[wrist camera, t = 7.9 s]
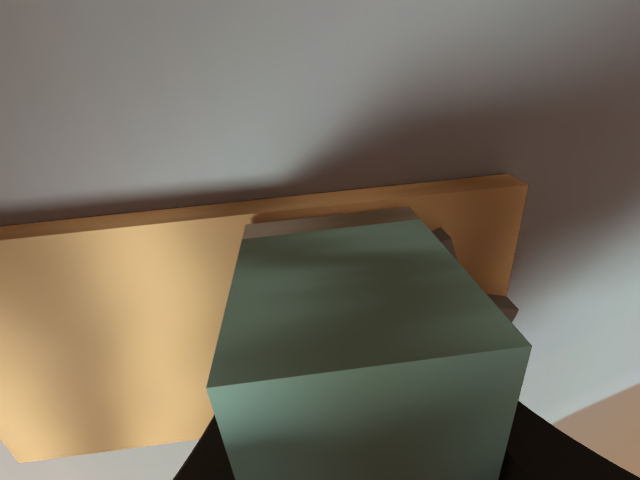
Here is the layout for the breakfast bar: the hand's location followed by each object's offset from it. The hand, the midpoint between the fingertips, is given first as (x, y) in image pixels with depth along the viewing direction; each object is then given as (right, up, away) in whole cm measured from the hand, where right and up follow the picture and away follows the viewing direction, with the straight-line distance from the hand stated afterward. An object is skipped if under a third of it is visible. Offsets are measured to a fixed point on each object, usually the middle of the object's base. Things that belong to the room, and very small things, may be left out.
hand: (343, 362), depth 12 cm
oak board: (-4, +1, +2) cm, 5 cm away
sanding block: (0, +1, +1) cm, 1 cm away
